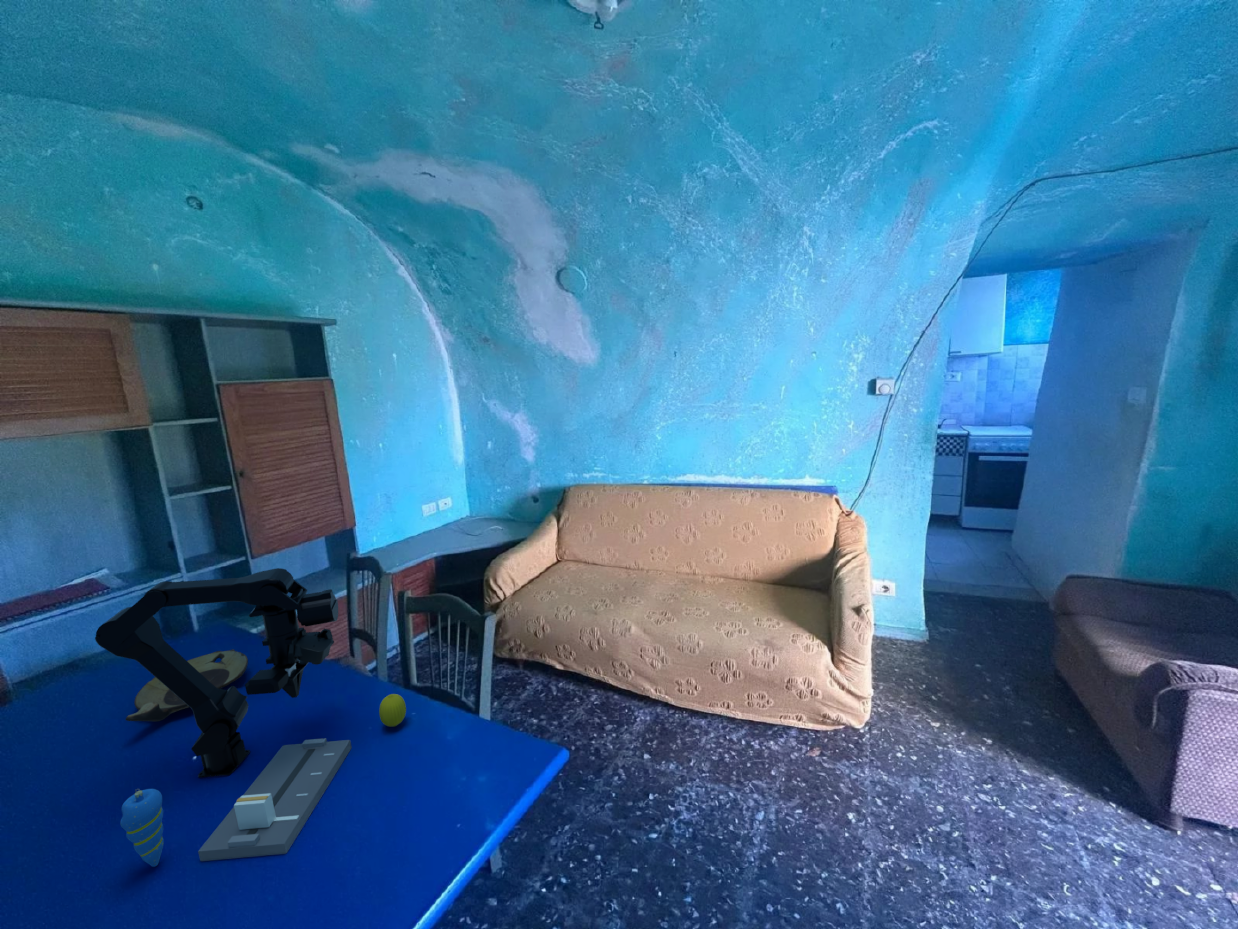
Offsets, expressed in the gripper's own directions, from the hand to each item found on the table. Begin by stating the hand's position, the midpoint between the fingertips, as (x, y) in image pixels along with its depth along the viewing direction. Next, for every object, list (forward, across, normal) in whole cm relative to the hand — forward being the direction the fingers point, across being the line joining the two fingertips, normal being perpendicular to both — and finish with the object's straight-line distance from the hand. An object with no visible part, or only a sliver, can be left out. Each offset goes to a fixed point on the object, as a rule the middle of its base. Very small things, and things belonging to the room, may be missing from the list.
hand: (295, 696), depth 108 cm
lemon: (+12, +4, -18) cm, 22 cm away
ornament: (+12, -26, +10) cm, 30 cm away
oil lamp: (+12, +20, +40) cm, 46 cm away
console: (+12, -14, -4) cm, 19 cm away
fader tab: (+10, -22, -4) cm, 24 cm away
